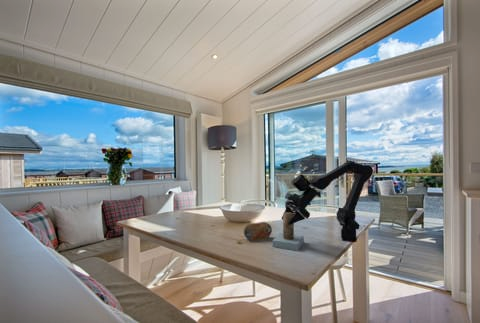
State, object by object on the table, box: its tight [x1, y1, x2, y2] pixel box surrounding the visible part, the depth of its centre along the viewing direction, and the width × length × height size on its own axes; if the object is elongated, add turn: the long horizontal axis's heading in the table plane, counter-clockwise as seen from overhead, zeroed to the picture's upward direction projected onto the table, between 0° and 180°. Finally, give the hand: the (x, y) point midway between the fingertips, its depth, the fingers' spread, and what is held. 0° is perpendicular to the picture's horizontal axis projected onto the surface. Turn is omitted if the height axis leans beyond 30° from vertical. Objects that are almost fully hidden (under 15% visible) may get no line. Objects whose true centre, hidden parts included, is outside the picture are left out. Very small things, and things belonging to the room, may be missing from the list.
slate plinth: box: [272, 232, 305, 251], centre depth 113 cm, size 12×12×3 cm
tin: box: [243, 221, 273, 241], centre depth 122 cm, size 15×3×8 cm, turn 105°
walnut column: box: [282, 211, 295, 240], centre depth 113 cm, size 5×5×12 cm
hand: (285, 221), depth 112 cm, fingers open, 9 cm apart
